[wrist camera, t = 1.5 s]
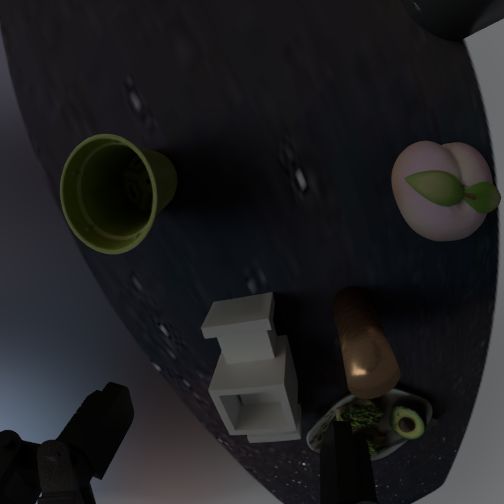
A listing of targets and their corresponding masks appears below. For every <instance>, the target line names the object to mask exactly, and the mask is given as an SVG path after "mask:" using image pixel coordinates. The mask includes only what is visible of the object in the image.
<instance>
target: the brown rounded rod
mask: <svg viewBox="0 0 504 504" xmlns="http://www.w3.org/2000/svg"><path fill="white" fill-rule="evenodd" d="M332 305H333V311H334V316H335V321H336V325H337V330H338V335H339V340H340V345H341V351H342V356H343V361H344V367H345V372H346V378H347V384H348V389H349V391H350V392H351V393H352V394H353V395H354V396H356V397H358V398H362V399H373V398H377V397H380V396H383V395H385V394H386V393H388V392H389V391H391V390H392V389H393V388H394V387H395V386H396V384H397V383H398V381H399V378H400V369H399V367H398V364H397V361H396V359H395V356H394V354H393V351H392V349H391V347H390V344H389V342H388V339H387V337H386V334H385V332H384V330H383V327H382V325H381V323H380V320H379V318H378V316H377V314H376V311H375V309H374V307H373V305H372V302H371V300H370V298H369V296H368V294H367V292H366V291H365V290H364V289H362V288H360V287H357V286H349V287H345V288H343V289H342V290H340V291H339V292H338V293H337V294H336V295H335V297H334V299H333V304H332Z"/></svg>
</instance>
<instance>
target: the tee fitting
mask: <svg viewBox="0 0 504 504" xmlns="http://www.w3.org/2000/svg"><path fill="white" fill-rule="evenodd" d="M274 306H275V300H274V296H273V292H270V293H265V294H259V295H253V296H247V297H241V298H235V299H229V300H223V301H217V302H214V303H213V305H212V307H211V309H210V311H209V313H208V315H207V317H206V319H205V321H204V323H203V325H202V327H201V329H202V332H203V335H204V337H205V338H214V337H217V338H218V341H219V344H220V347H221V349H222V352H221V355H220V358H219V361H218V364H217V366H216V369H215V372H214V375H213V378H212V381H211V384H210V387H209V390H208V391H209V393H210V395H211V397H212V399H213V402H214V404H215V406H216V408H217V410H218V412H219V414H220V416H221V418H222V420H223V422H224V424H225V426H226V428H227V430H228V432H229V434H230V435H246V434H248V436H247V438H248V440H249V442H250V443H255V442H272V441H285V440H295V439H301V406H300V404H297V401H298V380H297V375H296V371H295V367H294V363H293V359H292V354H291V350H290V346H289V342H288V338H287V335H280V336H277V334H276V331H275V327H274V323H273V314H274Z"/></svg>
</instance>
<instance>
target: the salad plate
mask: <svg viewBox="0 0 504 504" xmlns="http://www.w3.org/2000/svg"><path fill="white" fill-rule="evenodd" d="M432 412H433V409H432V406H431V403H430V402H429V401H428V400H427V399H426V398H424V397H423V396H421V395H420V394H418V393H417V392H415V391H412V390H410V389H407V388H405V387H403V386H400V385H398V384H396V386H395V387H394V388H393V389H392V390H391V391H389V392H388V393H386V394H385V395H383V396H380V397H377V398H373V399H362V398H358V397H356V396H354V395H353V394H352V393H351V392H350V391H349V392H348V393H346V394H345V395H343V396H342V397H340V398H338V399H337V400H336V401H335V402H334V403H333V404H332V406H331V408H330V409H329V410H328V411H327V412H326V413H325V414H324V415H323V416H322V417H321V418H320V419H319V420H318V421H317V422H316V424H315V425H314V426H313V427H312V429H311V430H310V431H309V432H308V434H307V439H306V441H307V443H308V445H309V447H310V448H311V449H312V450H314V451H316V452H320V447H321V443H322V440H323V438H324V435H325V433H326V430H327V427H328V424H329V423H330V421H331V419H332V418H333V417H334V416H335V415H336V417H337V421H350V422H351V425H352V432H353V434H362V435H363V437H364V438H365V440H366V441H367V443H368V445H369V451H370V457H371V460H376V459H380V458H383V457H385V456H387V455H389V454H390V453H392V452H393V451H395V450H396V449H397V448H398V447H400V446H401V445H402V444H403V443H405V442H406V441H407V440H408V439H417V438H419V437H420V436H422V435H423V433H424V432H425V431H427V430H428V429H430V428H432V427H433V426H434V425H436V423H437V421H438V420H436V419H433V418H432ZM384 434H386V435H385V436H384Z"/></svg>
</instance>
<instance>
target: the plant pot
mask: <svg viewBox="0 0 504 504" xmlns="http://www.w3.org/2000/svg"><path fill="white" fill-rule="evenodd" d="M140 158H141V160H142V161H141V162H140V163H138V164H137V165H135V162H136V161H138V160H139V159H140ZM147 179H150V180H151V182H150V183H149V184H147V183H146V180H147ZM130 186H132V188H133V191H134V193H135V194H136V197H134V196H133V195H132V194H131V191H130ZM176 187H177V173H176V170H175V168H174V165H173V164H172V162H171V161H170V160H169V159H168V158H167V157H166V156H165V155H163V154H161V153H159V152H156V151H152V150H148V149H143V148H138V147H137V146H136V145H135V144H134V143H132V142H131V141H129V140H127V139H125V138H123V137H121V136H117V135H112V134H100V135H96V136H93V137H90V138H88V139H86V140H85V141H83V142H82V143H81V144H80V145H78V146H77V147H76V148H75V149H74V150H73V152H72V153H71V155H70V156H69V158H68V159H67V161H66V164H65V166H64V169H63V173H62V177H61V183H60V196H61V203H62V208H63V211H64V214H65V217H66V219H67V222H68V224H69V225H70V227H71V229H72V230H73V232H74V233H75V234H76V236H77V237H78V238H79V239H80V240H81V241H82V242H84V243H85V244H86V245H87V246H89V247H91V248H93V249H94V250H96V251H98V252H102V253H106V254H120V253H124V252H127V251H129V250H131V249H133V248H134V247H136V246H137V245H138V244H139V243H140V242H141V241H142V240H143V239H144V238H145V237H146V236H147V234H148V233H149V231H150V229H151V227H152V225H153V223H154V220H155V217H156V215H157V214H158V213H159V212H160V211H161V210H162V209H164V208H165V207H166V206H167V205H168V204H169V203H170V201H171V200H172V199H173V197H174V194H175V191H176Z"/></svg>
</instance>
